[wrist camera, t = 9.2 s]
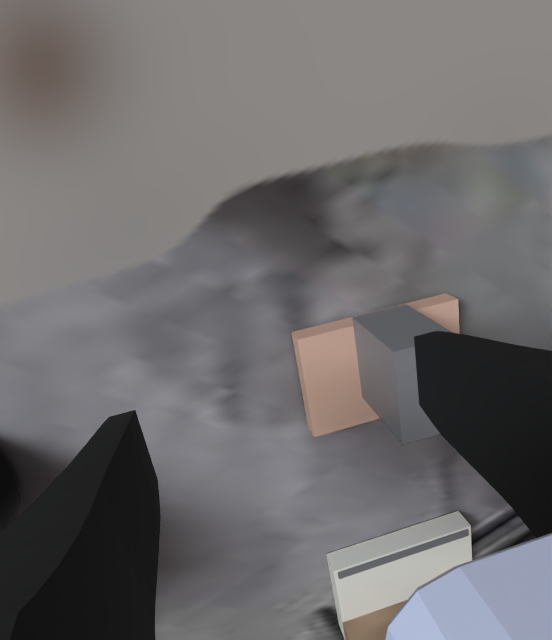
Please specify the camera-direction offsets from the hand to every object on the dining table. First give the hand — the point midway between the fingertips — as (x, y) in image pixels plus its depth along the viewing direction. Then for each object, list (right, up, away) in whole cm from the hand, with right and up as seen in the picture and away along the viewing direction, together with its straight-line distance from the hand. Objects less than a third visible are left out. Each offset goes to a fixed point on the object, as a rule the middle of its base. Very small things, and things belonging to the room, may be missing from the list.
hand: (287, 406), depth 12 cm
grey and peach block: (+4, 0, +11) cm, 12 cm away
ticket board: (+7, -12, +16) cm, 21 cm away
